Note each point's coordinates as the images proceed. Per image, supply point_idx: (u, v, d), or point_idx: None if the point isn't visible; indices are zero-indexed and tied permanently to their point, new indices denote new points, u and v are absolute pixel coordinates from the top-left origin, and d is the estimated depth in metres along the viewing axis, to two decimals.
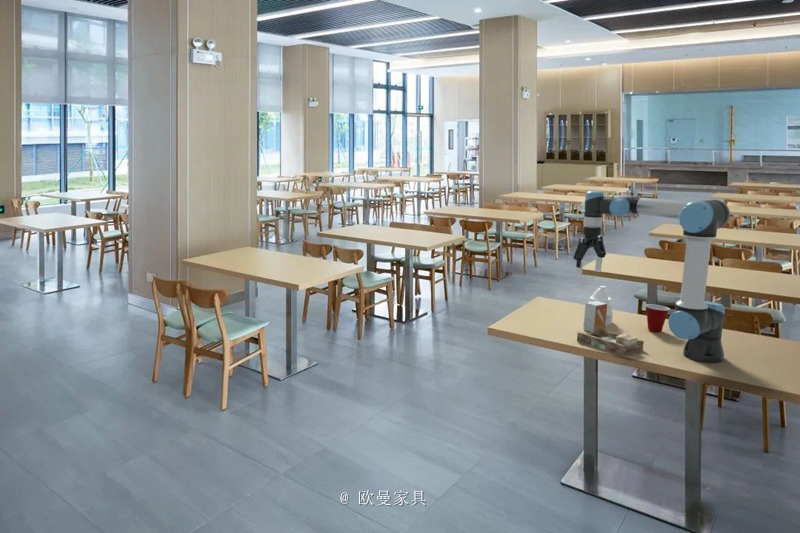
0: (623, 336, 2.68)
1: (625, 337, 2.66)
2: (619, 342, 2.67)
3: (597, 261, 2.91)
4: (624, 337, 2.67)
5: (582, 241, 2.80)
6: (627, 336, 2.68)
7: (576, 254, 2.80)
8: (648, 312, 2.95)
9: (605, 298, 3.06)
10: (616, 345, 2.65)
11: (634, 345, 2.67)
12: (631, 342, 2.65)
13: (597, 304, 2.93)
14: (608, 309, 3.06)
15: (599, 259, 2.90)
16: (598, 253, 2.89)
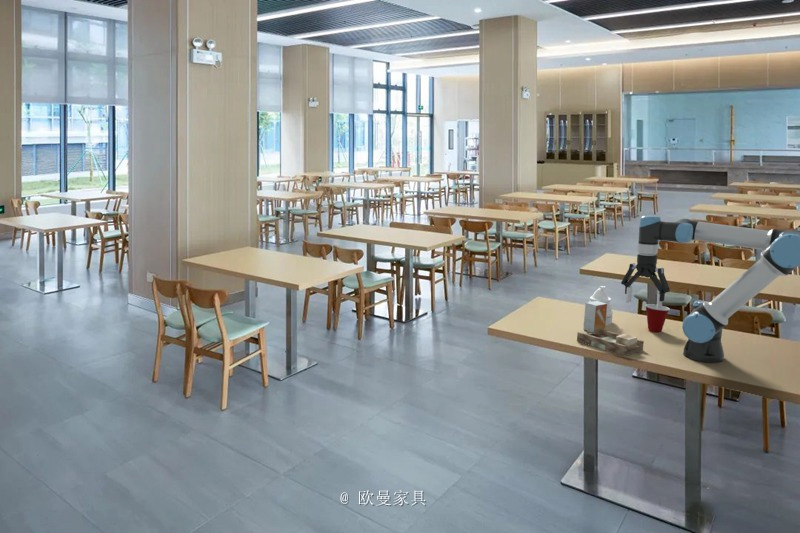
0: (623, 336, 2.68)
1: (625, 337, 2.66)
2: (619, 342, 2.67)
3: None
4: (624, 337, 2.67)
5: None
6: (627, 336, 2.68)
7: None
8: (648, 312, 2.95)
9: (605, 298, 3.06)
10: (616, 345, 2.65)
11: (634, 345, 2.67)
12: (631, 342, 2.65)
13: (597, 304, 2.93)
14: (608, 309, 3.06)
15: None
16: None
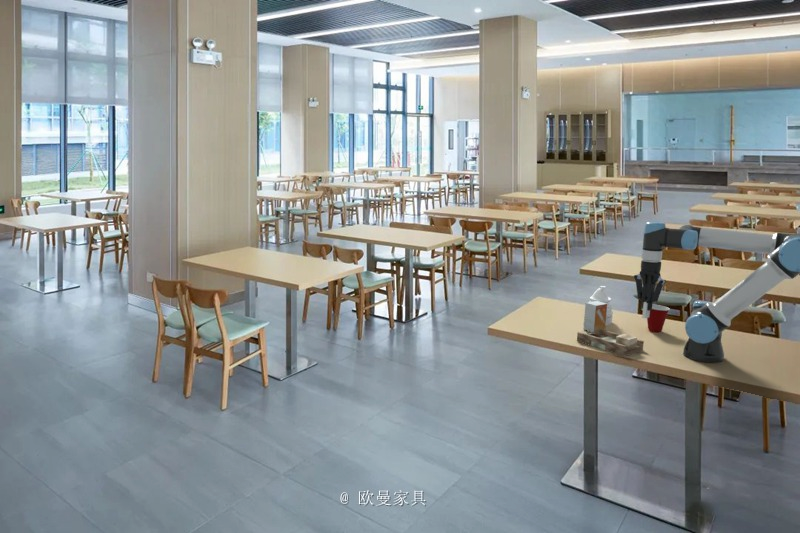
0: (623, 336, 2.68)
1: (625, 337, 2.66)
2: (619, 342, 2.67)
3: None
4: (624, 337, 2.67)
5: None
6: (627, 336, 2.68)
7: None
8: None
9: (605, 298, 3.06)
10: (616, 345, 2.65)
11: (634, 345, 2.67)
12: (631, 342, 2.65)
13: (597, 304, 2.93)
14: (608, 309, 3.06)
15: None
16: None
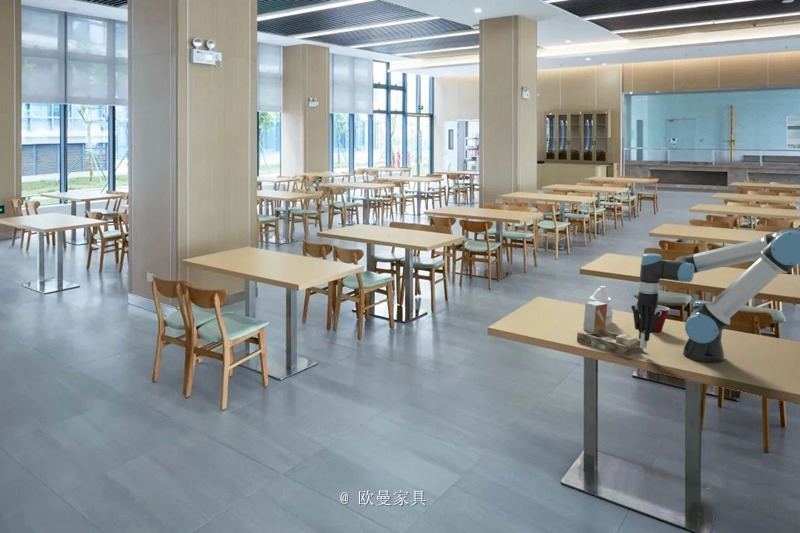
0: (623, 336, 2.68)
1: (625, 337, 2.66)
2: (619, 342, 2.67)
3: None
4: (624, 337, 2.67)
5: None
6: (627, 336, 2.68)
7: None
8: None
9: (605, 298, 3.06)
10: (616, 345, 2.65)
11: (634, 345, 2.67)
12: (631, 342, 2.65)
13: (597, 304, 2.93)
14: (608, 309, 3.06)
15: None
16: None
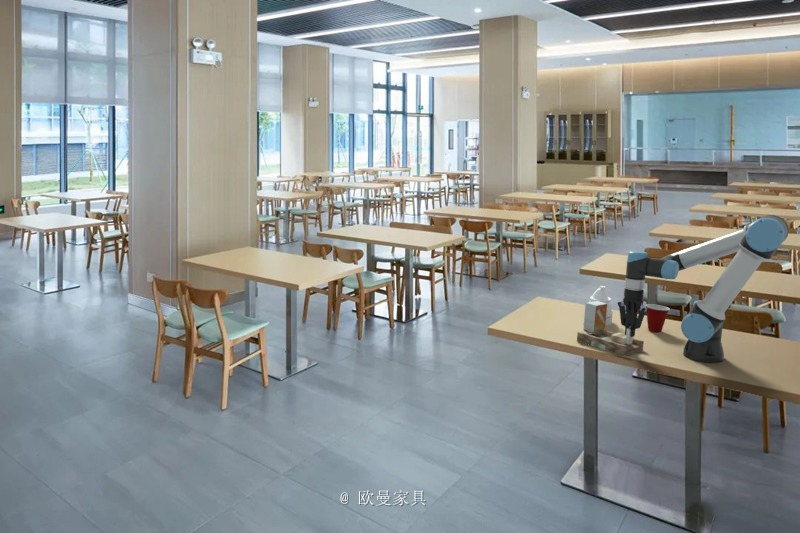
0: (618, 334, 2.70)
1: (620, 336, 2.68)
2: (614, 341, 2.69)
3: None
4: (619, 336, 2.69)
5: None
6: (622, 335, 2.70)
7: None
8: (648, 312, 2.95)
9: (605, 298, 3.06)
10: (616, 345, 2.65)
11: None
12: None
13: (597, 304, 2.93)
14: (608, 309, 3.06)
15: None
16: None
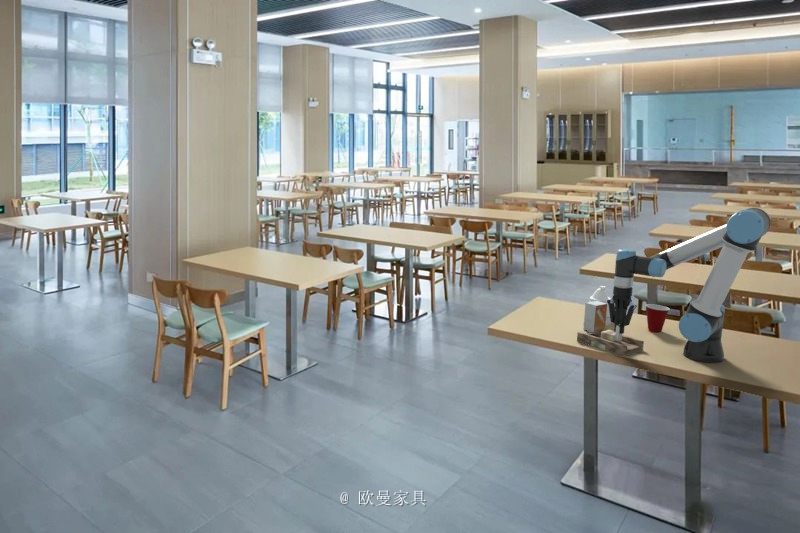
0: (607, 331, 2.74)
1: (609, 333, 2.72)
2: (604, 337, 2.73)
3: None
4: (609, 333, 2.73)
5: None
6: (612, 332, 2.74)
7: None
8: (648, 312, 2.95)
9: (605, 298, 3.06)
10: (616, 345, 2.65)
11: None
12: None
13: (597, 304, 2.93)
14: (608, 309, 3.06)
15: None
16: None
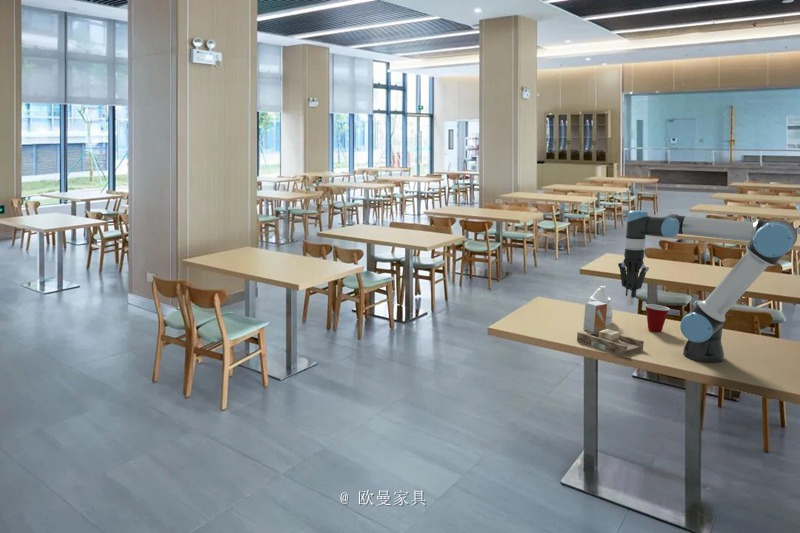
0: (605, 331, 2.75)
1: (607, 332, 2.73)
2: (602, 337, 2.74)
3: None
4: (607, 332, 2.73)
5: None
6: (610, 331, 2.75)
7: None
8: (648, 312, 2.95)
9: (605, 298, 3.06)
10: (616, 345, 2.65)
11: (616, 340, 2.74)
12: (614, 337, 2.72)
13: (597, 304, 2.93)
14: (608, 309, 3.06)
15: None
16: None
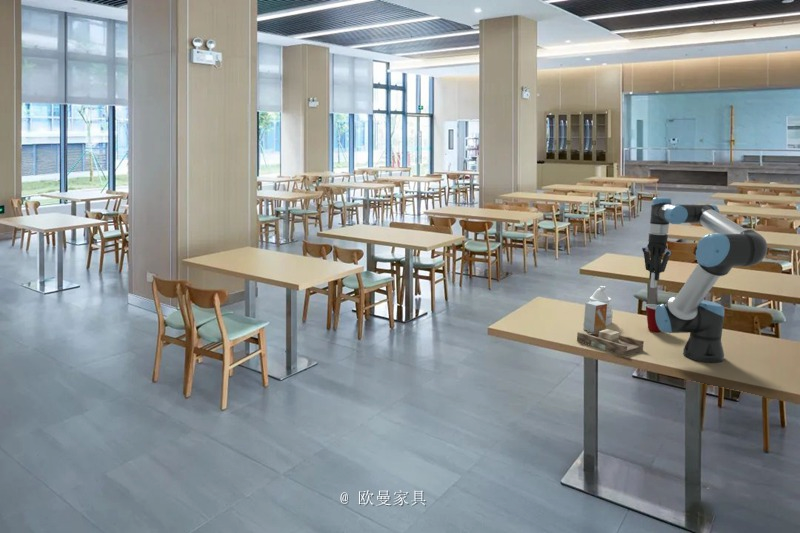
0: (605, 331, 2.75)
1: (607, 332, 2.73)
2: (602, 337, 2.74)
3: None
4: (607, 332, 2.73)
5: None
6: (610, 331, 2.75)
7: None
8: (648, 312, 2.95)
9: (605, 298, 3.06)
10: (616, 345, 2.65)
11: (616, 340, 2.74)
12: (614, 337, 2.72)
13: (597, 304, 2.93)
14: (608, 309, 3.06)
15: None
16: None
